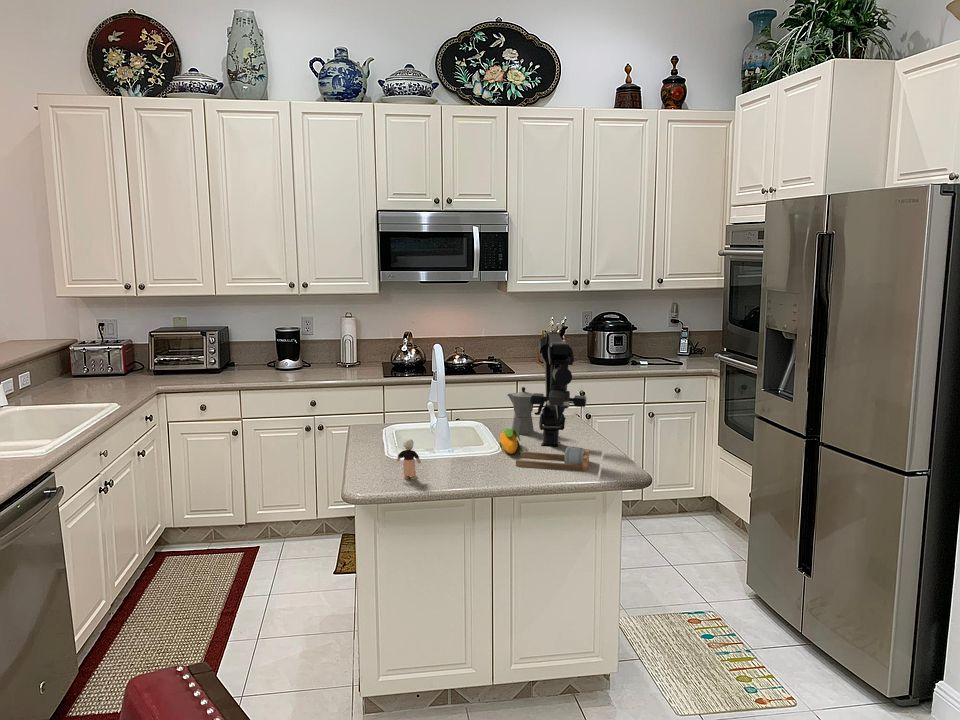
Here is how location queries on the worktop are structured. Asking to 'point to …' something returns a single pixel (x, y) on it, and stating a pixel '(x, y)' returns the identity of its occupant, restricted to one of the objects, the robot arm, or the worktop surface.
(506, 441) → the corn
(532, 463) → the bay
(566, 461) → the block
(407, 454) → the grandmother figurine
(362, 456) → the worktop surface
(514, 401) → the coffeepot
